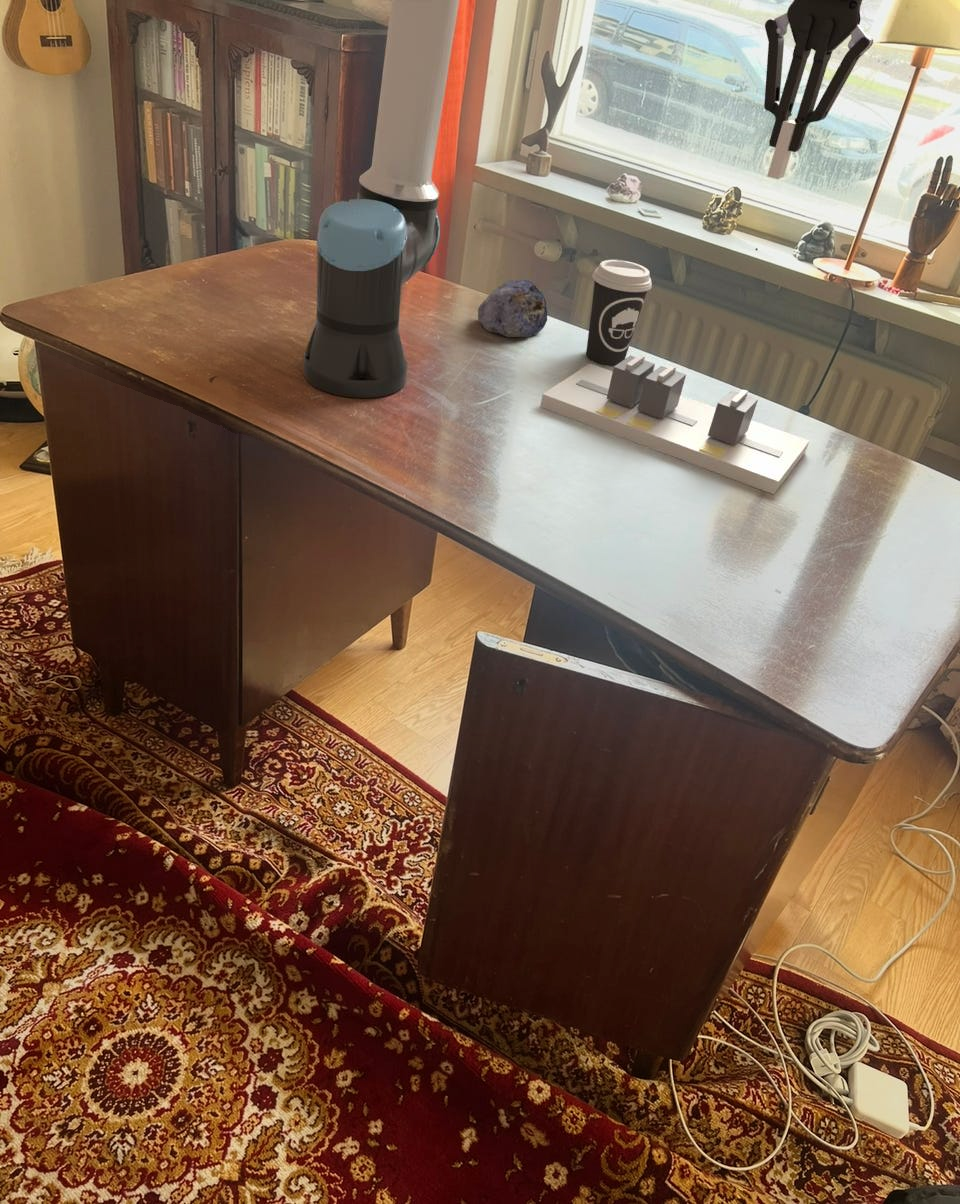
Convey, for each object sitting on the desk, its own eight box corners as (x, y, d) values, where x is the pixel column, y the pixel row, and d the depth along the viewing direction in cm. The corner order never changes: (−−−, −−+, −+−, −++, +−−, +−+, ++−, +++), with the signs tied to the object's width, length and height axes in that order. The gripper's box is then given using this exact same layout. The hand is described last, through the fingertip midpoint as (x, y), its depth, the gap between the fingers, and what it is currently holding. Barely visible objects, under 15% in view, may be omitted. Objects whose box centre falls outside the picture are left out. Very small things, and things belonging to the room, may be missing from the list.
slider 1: (606, 398, 136) (615, 361, 132) (622, 386, 140) (631, 350, 136) (631, 407, 134) (640, 370, 131) (646, 395, 139) (656, 358, 135)
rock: (557, 316, 160) (541, 268, 153) (526, 356, 157) (509, 309, 149) (508, 309, 166) (490, 262, 159) (477, 348, 163) (458, 301, 155)
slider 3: (707, 435, 130) (719, 397, 127) (721, 421, 134) (733, 384, 131) (734, 445, 129) (746, 407, 125) (747, 430, 133) (760, 393, 130)
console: (540, 406, 136) (542, 392, 135) (587, 375, 148) (589, 362, 146) (773, 494, 124) (779, 480, 122) (805, 452, 135) (810, 439, 134)
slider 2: (637, 409, 134) (646, 372, 130) (652, 397, 138) (662, 360, 135) (662, 419, 132) (672, 381, 129) (677, 406, 137) (687, 369, 133)
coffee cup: (638, 355, 157) (659, 267, 148) (626, 375, 150) (648, 283, 141) (584, 342, 159) (602, 253, 150) (570, 360, 152) (588, 268, 143)
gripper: (777, -53, 106) (719, 168, 120) (891, -35, 101) (816, 193, 115) (795, -50, 111) (737, 161, 125) (904, -33, 106) (831, 184, 121)
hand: (775, 176), depth 120 cm, fingers closed
